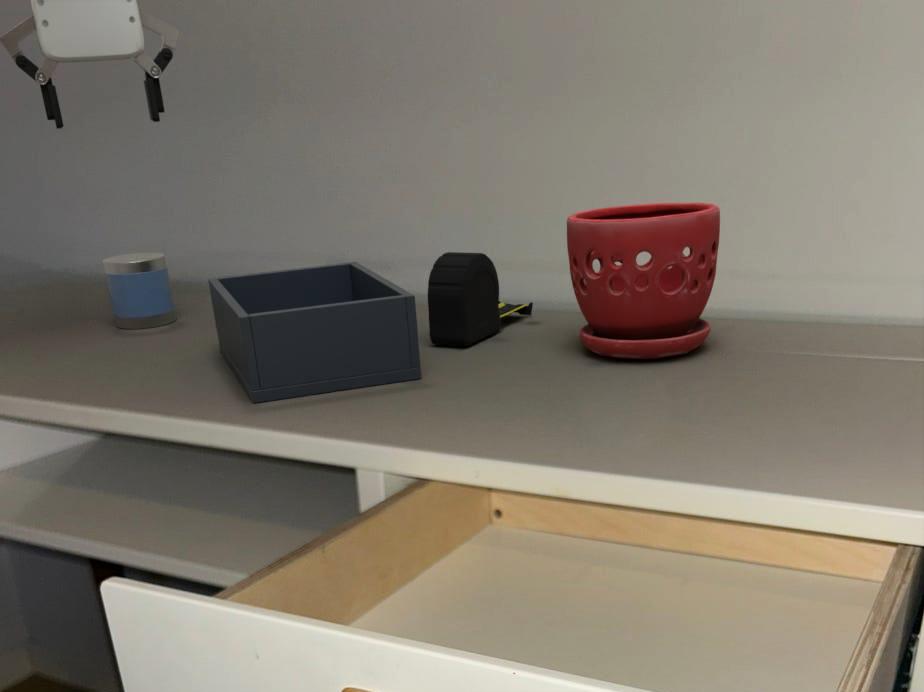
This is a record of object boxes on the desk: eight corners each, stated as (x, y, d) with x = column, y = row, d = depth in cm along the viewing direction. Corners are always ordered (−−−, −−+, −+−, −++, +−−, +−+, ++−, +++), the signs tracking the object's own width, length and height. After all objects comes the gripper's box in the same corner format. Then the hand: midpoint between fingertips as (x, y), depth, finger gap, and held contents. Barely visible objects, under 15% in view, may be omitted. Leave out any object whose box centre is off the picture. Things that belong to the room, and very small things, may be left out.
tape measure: (466, 349, 101) (460, 260, 97) (426, 346, 102) (419, 259, 99) (533, 316, 112) (530, 235, 108) (496, 314, 114) (492, 235, 110)
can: (117, 331, 117) (103, 265, 113) (114, 320, 122) (100, 256, 119) (179, 324, 119) (167, 258, 115) (173, 313, 124) (162, 250, 121)
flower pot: (730, 335, 100) (738, 197, 94) (690, 371, 89) (695, 218, 84) (599, 329, 105) (598, 198, 99) (546, 362, 95) (542, 218, 89)
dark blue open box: (253, 403, 88) (239, 317, 85) (220, 351, 106) (207, 278, 102) (421, 378, 92) (414, 295, 89) (363, 332, 109) (355, 261, 106)
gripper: (157, -69, 109) (188, 118, 117) (-24, -65, 104) (21, 129, 112) (164, -78, 102) (196, 119, 111) (-28, -75, 98) (20, 132, 106)
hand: (108, 124), depth 111 cm, fingers open, 9 cm apart
